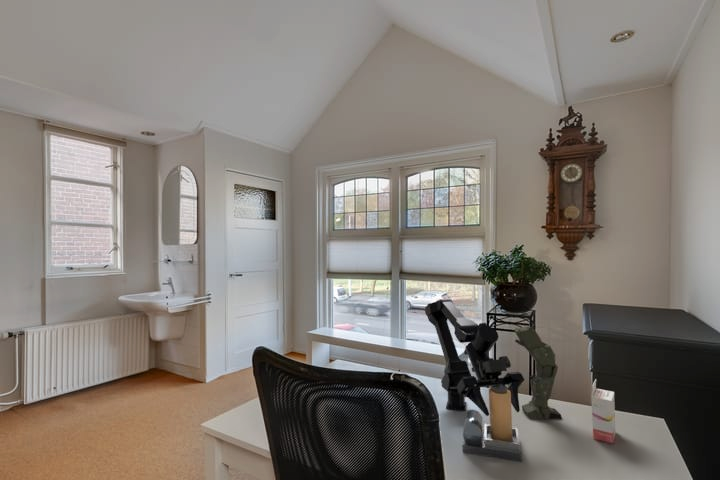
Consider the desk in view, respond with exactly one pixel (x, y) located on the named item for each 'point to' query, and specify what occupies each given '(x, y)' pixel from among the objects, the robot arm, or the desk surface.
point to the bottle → (500, 413)
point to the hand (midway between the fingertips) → (503, 413)
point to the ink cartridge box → (603, 414)
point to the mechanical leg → (539, 374)
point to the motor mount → (488, 440)
